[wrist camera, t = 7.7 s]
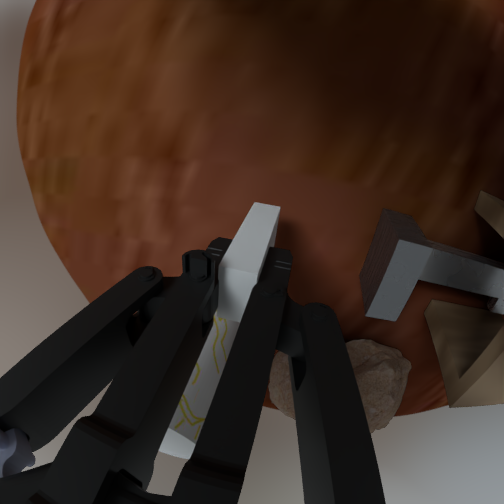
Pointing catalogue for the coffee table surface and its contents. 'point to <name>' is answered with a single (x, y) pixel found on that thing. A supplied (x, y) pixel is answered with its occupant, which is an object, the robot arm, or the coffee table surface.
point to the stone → (367, 376)
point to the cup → (200, 390)
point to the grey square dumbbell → (420, 268)
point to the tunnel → (471, 337)
